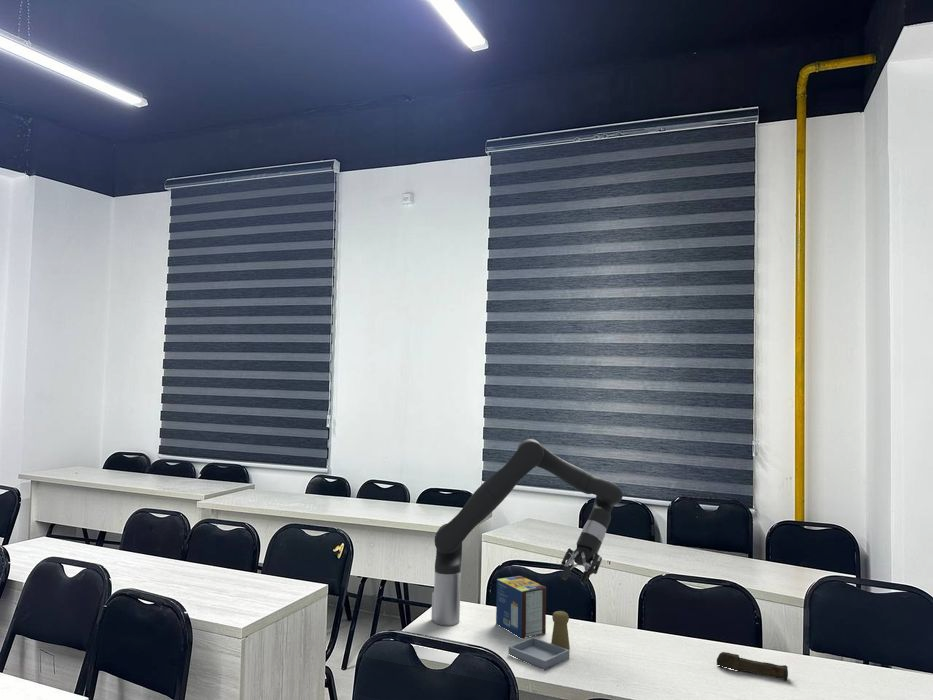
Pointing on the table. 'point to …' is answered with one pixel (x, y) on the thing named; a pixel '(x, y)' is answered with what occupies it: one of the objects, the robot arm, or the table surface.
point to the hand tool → (752, 666)
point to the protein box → (521, 606)
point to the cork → (560, 630)
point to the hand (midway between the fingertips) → (572, 581)
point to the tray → (539, 653)
